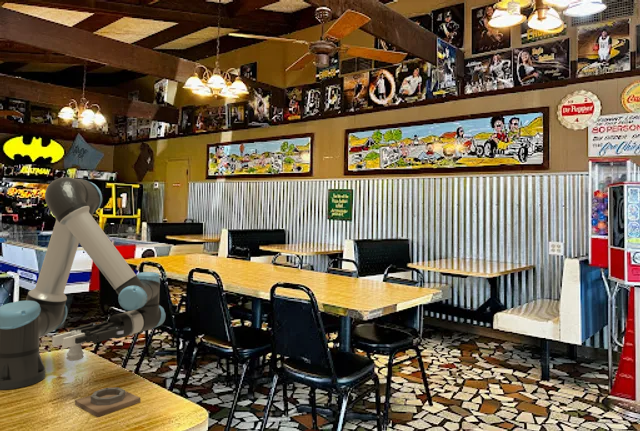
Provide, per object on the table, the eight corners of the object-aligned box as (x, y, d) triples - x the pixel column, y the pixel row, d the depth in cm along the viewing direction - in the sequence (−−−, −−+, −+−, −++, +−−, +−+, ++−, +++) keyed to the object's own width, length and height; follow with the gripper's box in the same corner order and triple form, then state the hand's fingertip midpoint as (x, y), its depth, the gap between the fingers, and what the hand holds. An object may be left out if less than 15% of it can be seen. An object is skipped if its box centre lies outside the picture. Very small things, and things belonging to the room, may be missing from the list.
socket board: (75, 404, 123) (75, 394, 123) (117, 391, 133) (117, 381, 133) (97, 417, 116) (97, 406, 116) (140, 402, 126) (140, 392, 126)
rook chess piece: (76, 362, 127) (77, 333, 127) (62, 360, 128) (63, 332, 128) (87, 357, 132) (88, 329, 132) (74, 355, 132) (74, 328, 132)
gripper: (143, 339, 143) (79, 360, 122) (105, 332, 150) (37, 351, 128) (144, 315, 143) (80, 332, 122) (106, 309, 150) (38, 324, 128)
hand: (58, 342), depth 125 cm, fingers closed on rook chess piece, 3 cm apart
